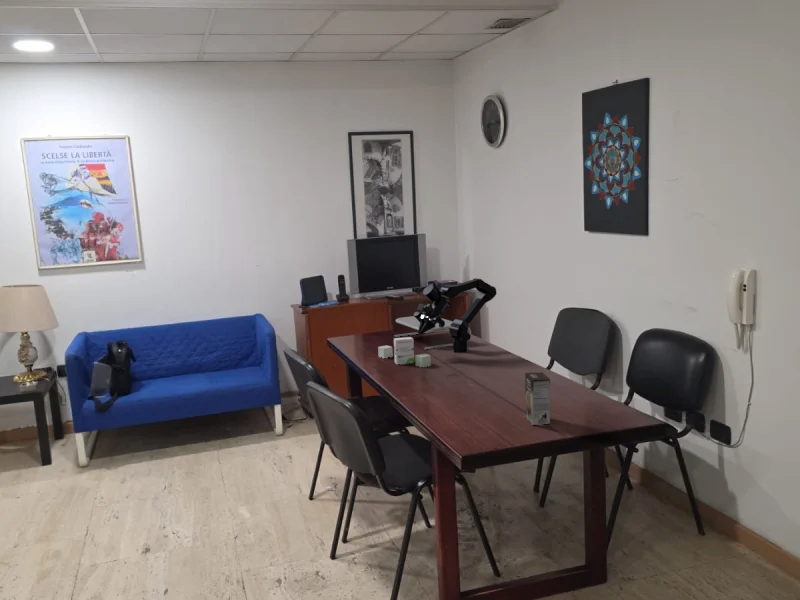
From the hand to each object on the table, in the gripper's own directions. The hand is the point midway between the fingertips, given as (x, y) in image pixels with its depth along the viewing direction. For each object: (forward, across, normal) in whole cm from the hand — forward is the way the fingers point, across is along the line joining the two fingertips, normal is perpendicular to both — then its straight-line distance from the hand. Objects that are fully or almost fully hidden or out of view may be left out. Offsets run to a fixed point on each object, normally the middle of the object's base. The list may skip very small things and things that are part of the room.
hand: (419, 333), depth 328 cm
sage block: (+13, +10, +5) cm, 17 cm away
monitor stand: (-12, -31, +30) cm, 45 cm away
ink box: (+16, 0, +3) cm, 16 cm away
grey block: (+15, -16, +2) cm, 22 cm away
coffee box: (+24, +98, -6) cm, 101 cm away
